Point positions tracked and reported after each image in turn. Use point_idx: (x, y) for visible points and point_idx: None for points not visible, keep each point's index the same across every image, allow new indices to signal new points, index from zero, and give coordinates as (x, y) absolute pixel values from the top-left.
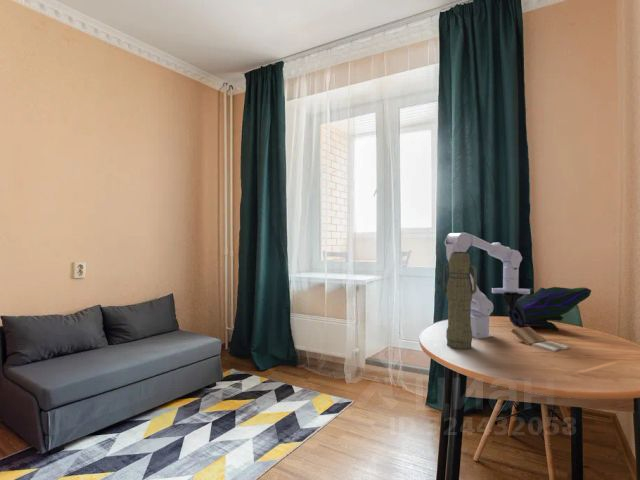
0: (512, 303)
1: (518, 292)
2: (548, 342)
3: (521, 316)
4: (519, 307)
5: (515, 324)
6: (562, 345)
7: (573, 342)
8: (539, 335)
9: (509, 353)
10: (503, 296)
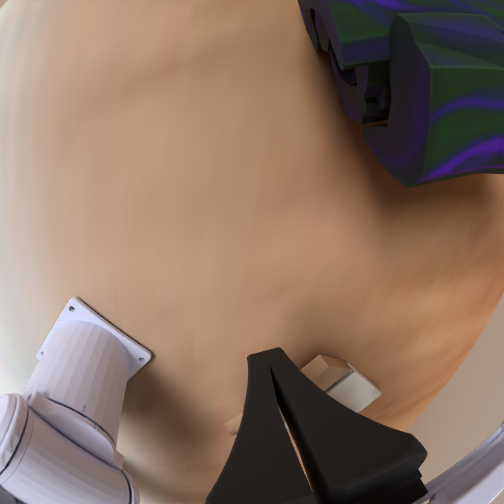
0: (298, 448)
1: (427, 499)
2: (343, 389)
3: (374, 114)
4: (412, 125)
5: (313, 40)
6: (367, 397)
7: (434, 301)
8: (340, 372)
9: (203, 465)
10: (219, 488)
